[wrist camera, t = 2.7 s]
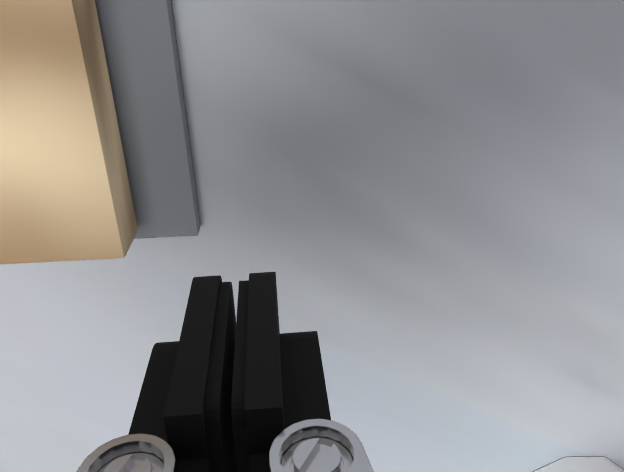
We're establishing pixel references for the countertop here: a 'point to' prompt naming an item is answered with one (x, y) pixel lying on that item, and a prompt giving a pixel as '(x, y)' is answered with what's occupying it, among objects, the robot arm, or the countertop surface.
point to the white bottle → (581, 465)
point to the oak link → (59, 138)
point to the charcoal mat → (150, 114)
